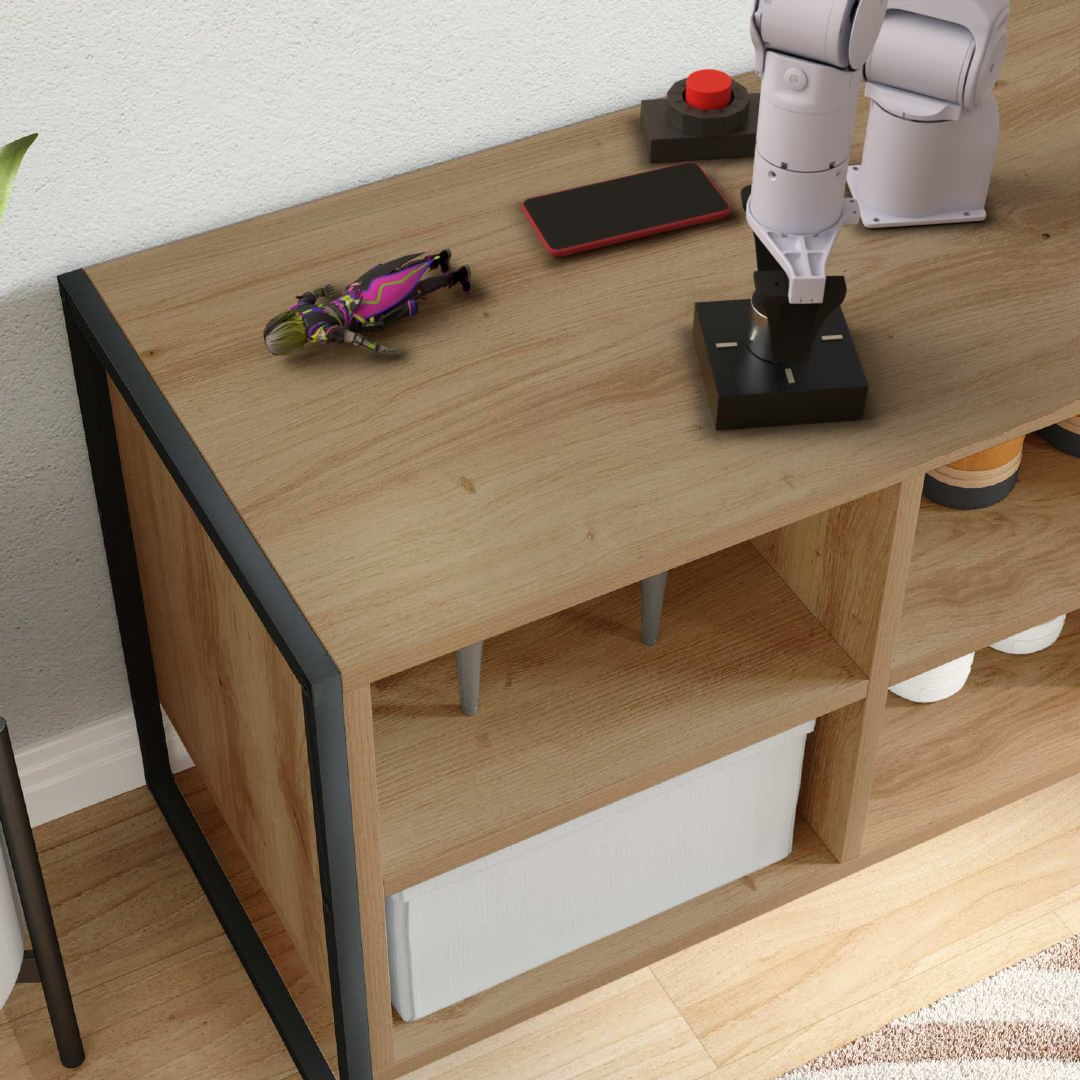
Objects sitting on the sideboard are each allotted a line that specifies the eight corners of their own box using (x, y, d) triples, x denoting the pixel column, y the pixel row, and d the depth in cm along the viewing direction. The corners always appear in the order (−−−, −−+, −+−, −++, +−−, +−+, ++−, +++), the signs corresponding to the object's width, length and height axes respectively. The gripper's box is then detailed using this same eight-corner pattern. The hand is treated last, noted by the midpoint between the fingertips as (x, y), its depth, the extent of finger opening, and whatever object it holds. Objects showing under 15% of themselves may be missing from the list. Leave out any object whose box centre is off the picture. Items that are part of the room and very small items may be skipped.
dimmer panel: (830, 326, 112) (836, 290, 110) (863, 419, 106) (869, 383, 103) (692, 335, 112) (694, 300, 110) (715, 430, 105) (718, 394, 103)
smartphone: (518, 200, 122) (695, 159, 125) (518, 209, 123) (695, 169, 126) (551, 253, 117) (734, 209, 121) (551, 263, 118) (733, 219, 121)
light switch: (758, 114, 132) (762, 70, 129) (772, 157, 127) (777, 113, 124) (639, 121, 131) (641, 78, 128) (650, 165, 127) (652, 121, 124)
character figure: (424, 256, 120) (236, 328, 113) (423, 213, 117) (230, 285, 110) (494, 318, 114) (301, 397, 108) (494, 275, 112) (296, 354, 105)
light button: (726, 86, 128) (727, 67, 127) (734, 110, 126) (735, 90, 124) (682, 89, 128) (683, 70, 127) (689, 113, 125) (690, 93, 124)
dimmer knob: (743, 322, 108) (748, 277, 105) (808, 321, 108) (814, 276, 105) (749, 363, 105) (754, 318, 102) (815, 362, 105) (822, 317, 102)
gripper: (887, 215, 90) (856, 393, 100) (852, 82, 100) (827, 256, 110) (764, 217, 91) (745, 395, 100) (741, 84, 101) (726, 258, 110)
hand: (781, 323), depth 105 cm, fingers open, 7 cm apart
